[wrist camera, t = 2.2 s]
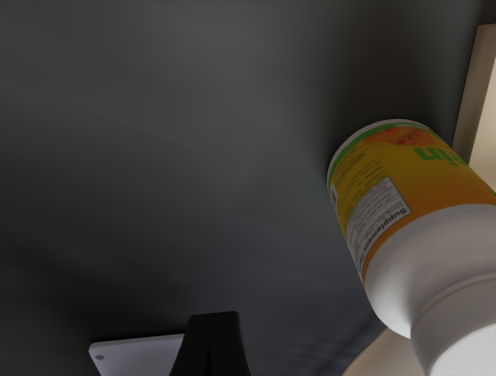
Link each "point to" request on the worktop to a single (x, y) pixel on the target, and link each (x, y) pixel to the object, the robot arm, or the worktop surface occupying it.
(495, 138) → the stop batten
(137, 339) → the robot arm
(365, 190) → the supplement bottle
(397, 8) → the worktop surface
